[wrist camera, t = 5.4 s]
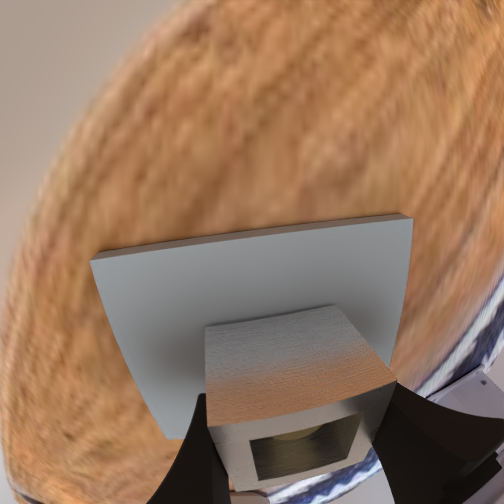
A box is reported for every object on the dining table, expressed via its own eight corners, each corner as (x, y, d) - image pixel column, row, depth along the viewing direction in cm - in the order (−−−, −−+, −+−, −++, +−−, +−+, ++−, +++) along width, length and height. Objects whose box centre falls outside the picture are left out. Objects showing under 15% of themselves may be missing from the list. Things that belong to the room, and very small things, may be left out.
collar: (335, 304, 11) (397, 379, 7) (327, 390, 13) (363, 460, 8) (204, 327, 11) (207, 426, 6) (225, 410, 13) (236, 491, 8)
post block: (400, 213, 12) (477, 243, 7) (372, 387, 16) (406, 438, 11) (98, 252, 10) (40, 310, 6) (167, 427, 14) (164, 491, 10)
